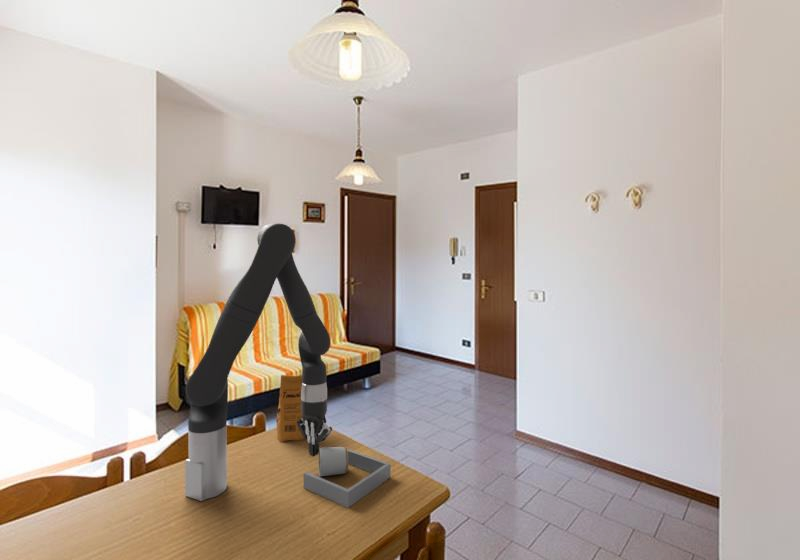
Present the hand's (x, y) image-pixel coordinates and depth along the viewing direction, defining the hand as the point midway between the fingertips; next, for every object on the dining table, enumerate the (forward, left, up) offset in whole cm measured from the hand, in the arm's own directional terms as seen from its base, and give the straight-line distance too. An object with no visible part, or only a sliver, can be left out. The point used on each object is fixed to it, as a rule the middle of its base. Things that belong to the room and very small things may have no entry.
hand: (313, 454), depth 122 cm
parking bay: (-2, -13, -4) cm, 14 cm away
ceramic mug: (+1, -6, -4) cm, 7 cm away
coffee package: (+16, +20, -4) cm, 26 cm away
